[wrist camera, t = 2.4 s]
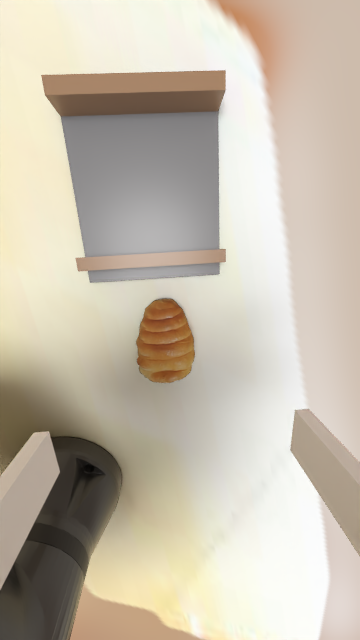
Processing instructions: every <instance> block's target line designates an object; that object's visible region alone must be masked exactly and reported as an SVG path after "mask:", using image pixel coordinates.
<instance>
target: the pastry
mask: <svg viewBox="0 0 360 640" xmlns="http://www.w3.org/2000/svg"><path fill="white" fill-rule="evenodd" d="M139 331H140V332H139V336H138V338H137V340H136V344H137V347H138V358H137V363H138V365H139V371H140V373H141V374H143V375H144V376H145V377H146V378H148V379H149V380H150V381H152V382H159V383H171V382H174V381H176V380H181V379H183V378H184V377H186V376H187V375H188V374H189V373H190V372H191V367H192V363H193V361H194V357H195V352H194V339H193V336H192V333H191V330H190V328H189V325H188V322H187V319H186V317H185V314H184V312H183V309H182V308H181V307H179V305H178V304H177V303H176V302H175V301H174V300H172V299H160V300H155V301H153V302H152V303H151V304H150V305H149V306H148V307H147V308H146V309H145V312H144V317H143V319H142V322H141V324H140V330H139Z"/></svg>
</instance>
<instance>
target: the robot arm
mask: <svg viewBox="0 0 360 640" xmlns="http://www.w3.org/2000/svg"><path fill="white" fill-rule="evenodd" d="M290 450H291V452H292V453H293V455H294V456H295V458H296V459H297V461H298V462H299V464H300V466H301V467H302V469H303V470H304V472H305V473H306V475H307V476H308V478H309V479H310V481H311V482H312V484H313V485H314V487H315V489H316V490H317V492H318V493H319V495H320V496H321V498H322V499H323V501H324V502H325V504H326V505H327V507H328V508H329V510H330V512H331V513H332V515H333V516H334V518H335V519H336V521H337V522H338V524H339V525H340V527H341V528H342V530H343V531H344V533H345V534H346V536H347V537H348V539H349V541H350V542H351V544H352V545H353V547H354V548H355V550H356V551H357V553H358V554H359V556H360V462H359V461H358V460H357V459H356V458H355V457H354V456H353V455H352V454H351V453H350V452H349V451H348V450H347V448H346V447H345V446H343V444H342V443H341V442H340V441H339V440H338V439H337V438H336V437H335V436H334V435H333V434H332V433H331V432H330V431H329V430H328V429H327V428H326V427H325V426H324V424H323V423H322V422H321V421H320V420H319V419H318V418H317V417H316V416H315V415H314V414H313V413H312V412H311V411H310V410H309V409H302V410H295V415H294V424H293V432H292V441H291V449H290ZM121 484H122V476H121V471H120V468H119V466H118V464H117V462H116V461H115V459H114V458H113V457H112V456H111V455H110V454H109V453H108V452H107V451H105V450H104V449H103V448H101V447H100V446H98V445H96V444H94V443H91V442H89V441H86V440H83V439H78V438H72V437H55V438H51V437H50V433H49V431H47V432H35V433H33V434H32V436H31V437H30V438H29V440H28V441H27V442H26V443H25V445H24V446H23V447H22V449H21V450H20V451H19V452H18V454H17V455H16V456H15V458H14V459H13V460H12V462H11V463H10V464H9V465H8V467H7V468H6V469H5V471H4V472H3V473H2V474H1V476H0V640H70V636H71V632H72V628H73V624H74V620H75V615H76V611H77V608H78V604H79V600H80V596H81V592H82V587H83V584H84V580H85V576H86V572H87V568H88V564H89V561H90V558H91V555H92V553H93V551H94V549H95V547H96V545H97V543H98V541H99V539H100V537H101V536H102V534H103V532H104V530H105V528H106V526H107V524H108V522H109V520H110V518H111V516H112V514H113V512H114V510H115V508H116V505H117V503H118V499H119V494H120V489H121Z"/></svg>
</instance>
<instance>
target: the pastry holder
mask: <svg viewBox="0 0 360 640" xmlns="http://www.w3.org/2000/svg"><path fill="white" fill-rule="evenodd" d="M41 76H42V81H43V86H44V92H45V96H46V97H47V98H48V100H49V101H50V102H51V104H52V105H53V106H54V108H55V109H56V111H57V112H58V113H59V115H60V116H61V120H62V126H63V131H64V137H65V143H66V149H67V154H68V160H69V166H70V171H71V177H72V183H73V189H74V194H75V200H76V206H77V211H78V217H79V223H80V229H81V234H82V240H83V246H84V251H85V257H84V258H76V262H77V268H78V271H88V274H89V280H90V283H91V282H107V281H122V280H137V279H153V278H168V277H183V276H199V275H214V274H219V262H226V249H219V156H218V110H219V107H220V104H221V102H222V99H223V96H224V93H225V70H224V71H185V72H145V73H106V74H66V75H41Z"/></svg>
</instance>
